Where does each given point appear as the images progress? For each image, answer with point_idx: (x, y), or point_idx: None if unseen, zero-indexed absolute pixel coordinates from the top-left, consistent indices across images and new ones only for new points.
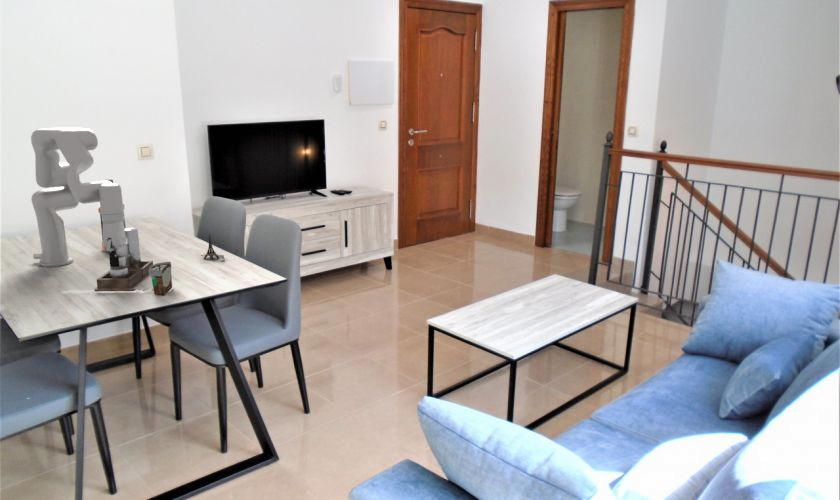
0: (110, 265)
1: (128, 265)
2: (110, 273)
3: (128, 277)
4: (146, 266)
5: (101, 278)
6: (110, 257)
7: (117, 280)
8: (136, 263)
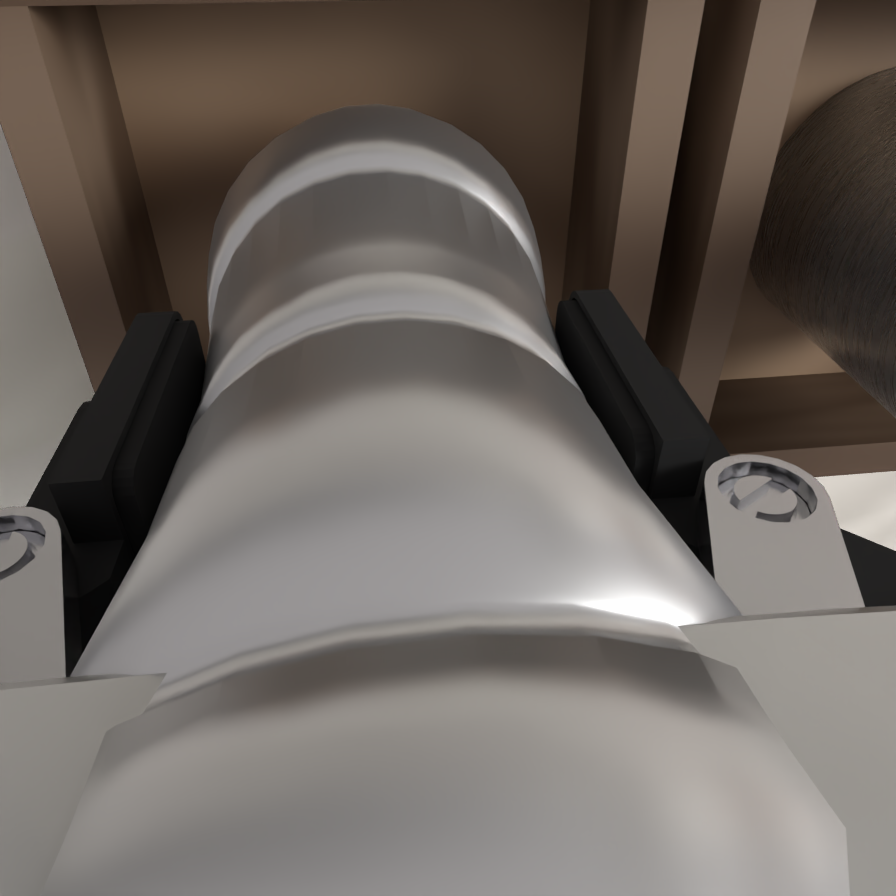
0: (137, 330)
1: (847, 271)
2: (240, 189)
3: (571, 278)
4: (816, 472)
5: (91, 3)
6: (74, 497)
7: (95, 358)
8: (869, 391)
